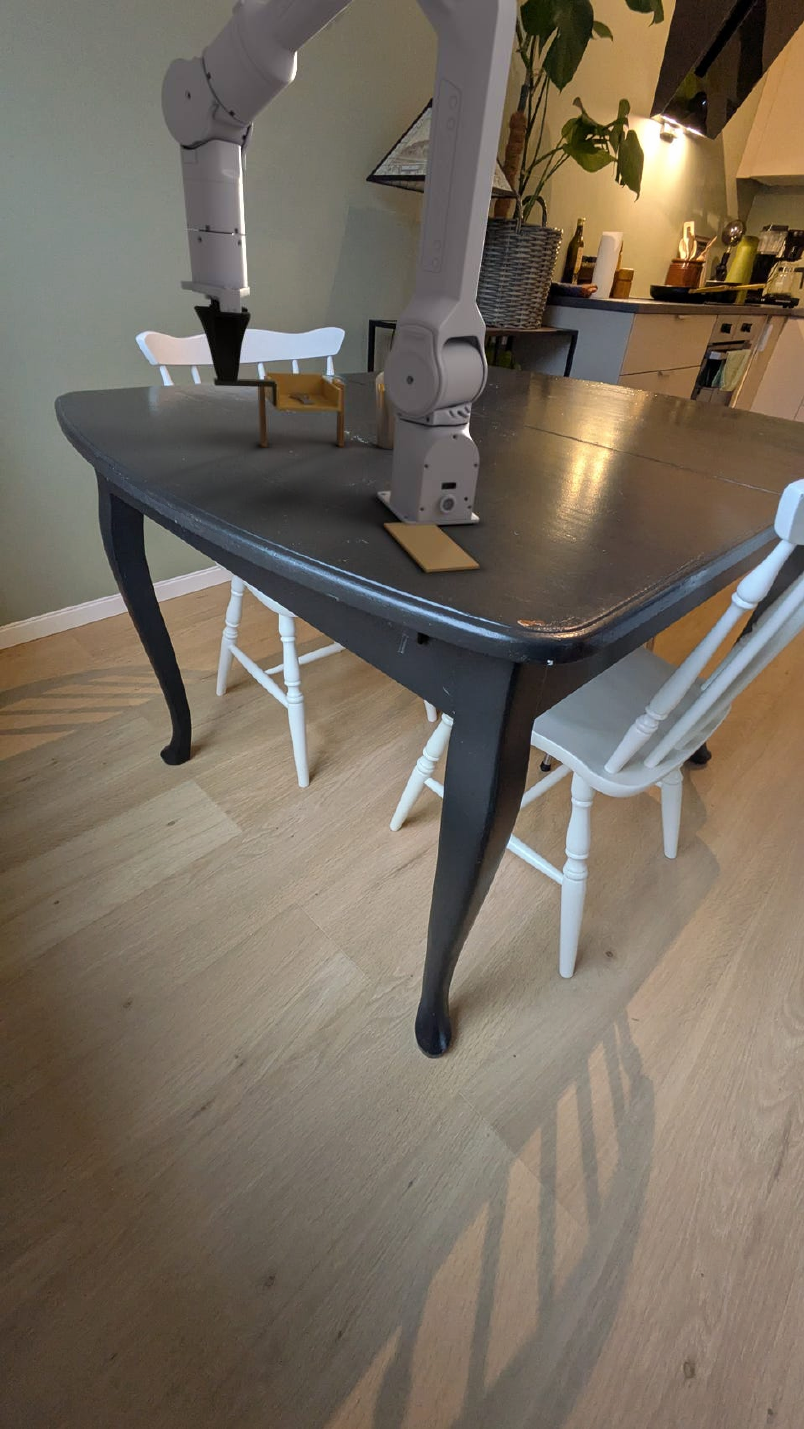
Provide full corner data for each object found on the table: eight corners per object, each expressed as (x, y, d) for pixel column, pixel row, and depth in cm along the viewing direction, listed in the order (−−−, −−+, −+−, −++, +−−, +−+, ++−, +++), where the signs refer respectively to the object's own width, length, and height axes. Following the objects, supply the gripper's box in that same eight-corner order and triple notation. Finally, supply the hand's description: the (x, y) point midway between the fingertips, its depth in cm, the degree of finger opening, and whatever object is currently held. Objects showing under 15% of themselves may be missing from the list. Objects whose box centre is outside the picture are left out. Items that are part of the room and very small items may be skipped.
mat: (478, 568, 55) (479, 565, 55) (426, 572, 53) (426, 569, 53) (430, 523, 63) (431, 520, 63) (383, 526, 61) (383, 523, 61)
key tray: (345, 411, 79) (346, 383, 77) (217, 409, 74) (214, 380, 72) (327, 396, 85) (328, 370, 83) (208, 394, 80) (205, 366, 78)
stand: (343, 446, 84) (345, 384, 80) (262, 447, 81) (259, 382, 76) (340, 443, 85) (341, 381, 81) (260, 443, 82) (257, 379, 78)
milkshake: (407, 442, 89) (414, 362, 83) (403, 452, 84) (410, 368, 78) (375, 439, 89) (379, 358, 83) (370, 448, 85) (374, 364, 79)
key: (316, 405, 78) (316, 401, 78) (297, 404, 78) (297, 401, 77) (306, 396, 82) (306, 392, 82) (288, 395, 81) (288, 392, 81)
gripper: (170, 227, 69) (185, 367, 77) (182, 229, 58) (198, 391, 66) (236, 234, 71) (243, 369, 79) (259, 237, 61) (265, 393, 69)
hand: (227, 380), depth 73 cm, fingers closed, pressing on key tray
